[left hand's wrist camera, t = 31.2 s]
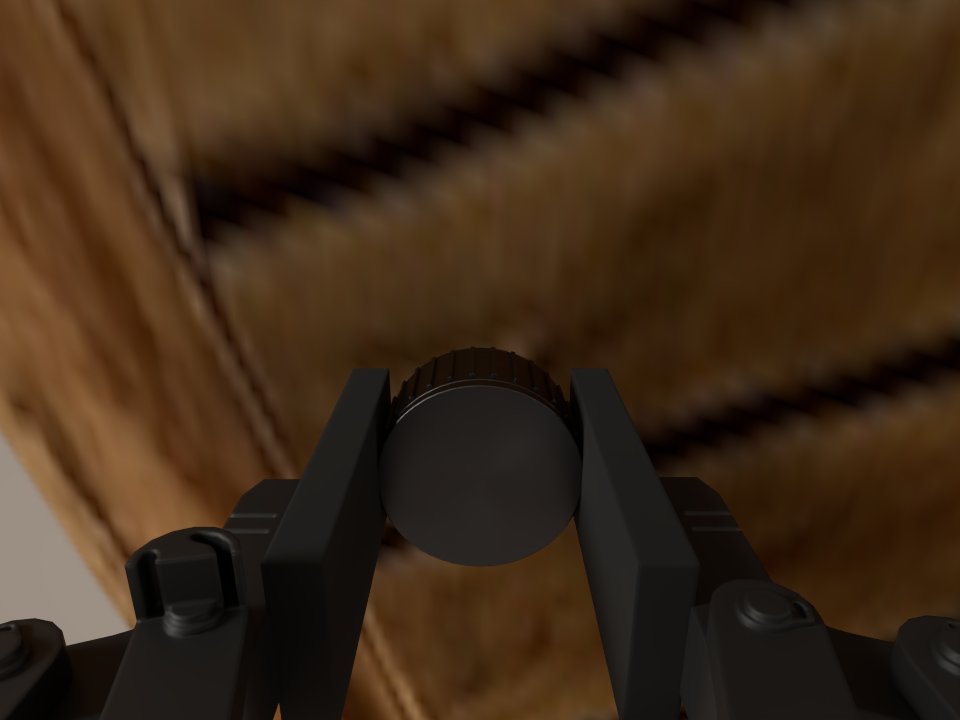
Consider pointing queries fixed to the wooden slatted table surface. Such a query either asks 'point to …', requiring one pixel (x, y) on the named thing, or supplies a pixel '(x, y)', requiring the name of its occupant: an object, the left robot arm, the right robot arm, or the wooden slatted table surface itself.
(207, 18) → the wooden slatted table surface
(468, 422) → the cap
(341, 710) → the left robot arm
